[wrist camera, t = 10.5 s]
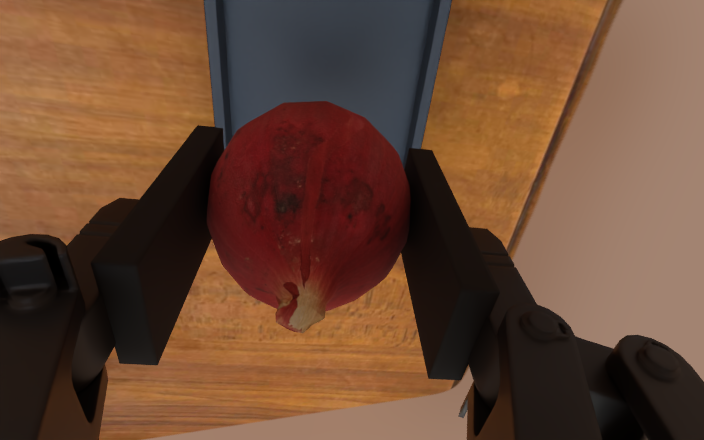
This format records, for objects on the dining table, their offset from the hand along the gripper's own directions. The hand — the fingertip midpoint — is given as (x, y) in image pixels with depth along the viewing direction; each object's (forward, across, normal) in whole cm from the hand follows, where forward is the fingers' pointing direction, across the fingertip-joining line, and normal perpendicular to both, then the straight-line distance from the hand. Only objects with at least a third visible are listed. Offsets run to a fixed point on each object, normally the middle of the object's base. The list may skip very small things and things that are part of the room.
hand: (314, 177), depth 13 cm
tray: (+13, 0, 0) cm, 13 cm away
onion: (+2, 0, 0) cm, 2 cm away
